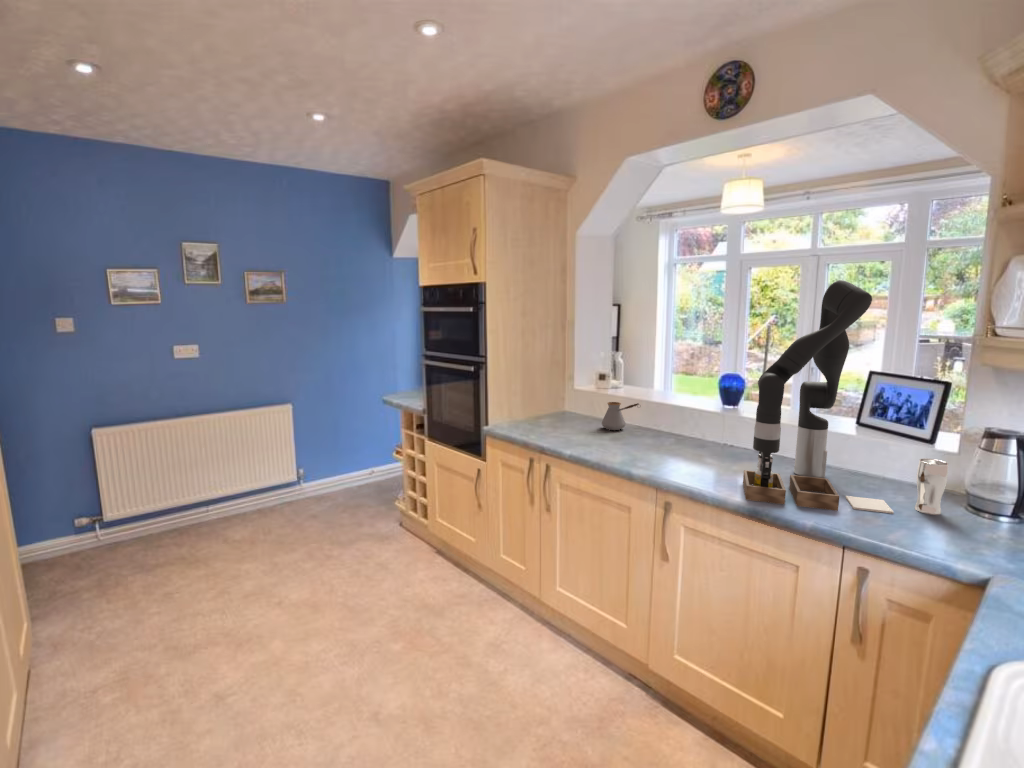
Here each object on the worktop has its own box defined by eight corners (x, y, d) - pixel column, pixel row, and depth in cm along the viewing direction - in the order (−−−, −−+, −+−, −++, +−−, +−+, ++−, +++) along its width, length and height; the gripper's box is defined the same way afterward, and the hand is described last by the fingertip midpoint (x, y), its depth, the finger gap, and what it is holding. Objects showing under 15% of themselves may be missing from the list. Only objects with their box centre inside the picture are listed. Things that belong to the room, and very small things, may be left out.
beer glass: (913, 504, 160) (919, 456, 157) (942, 510, 155) (949, 461, 153) (912, 511, 154) (918, 462, 152) (942, 517, 150) (949, 466, 148)
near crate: (826, 492, 170) (827, 478, 170) (837, 510, 155) (839, 496, 154) (789, 488, 174) (790, 474, 173) (796, 505, 158) (797, 491, 158)
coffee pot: (596, 428, 257) (597, 398, 255) (612, 425, 264) (613, 395, 262) (629, 437, 240) (631, 404, 238) (646, 433, 247) (647, 402, 245)
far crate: (778, 486, 175) (779, 473, 174) (784, 504, 160) (785, 490, 159) (742, 482, 179) (743, 470, 178) (745, 499, 163) (746, 485, 163)
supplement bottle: (775, 496, 167) (777, 466, 165) (758, 496, 167) (760, 466, 165) (767, 490, 172) (769, 461, 170) (750, 490, 172) (752, 461, 170)
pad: (883, 501, 162) (883, 499, 162) (893, 513, 153) (893, 511, 153) (845, 497, 165) (845, 495, 165) (853, 508, 156) (853, 507, 156)
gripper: (783, 442, 158) (778, 496, 161) (777, 431, 172) (773, 481, 174) (755, 440, 161) (751, 493, 164) (752, 429, 174) (748, 479, 177)
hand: (763, 487), depth 169 cm, fingers closed on supplement bottle, 5 cm apart
